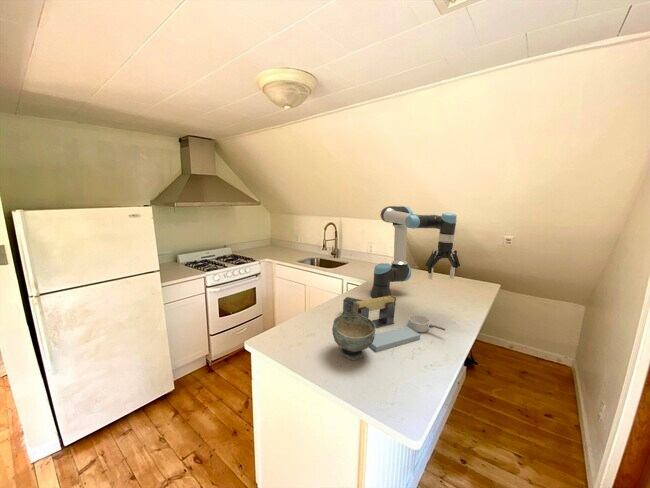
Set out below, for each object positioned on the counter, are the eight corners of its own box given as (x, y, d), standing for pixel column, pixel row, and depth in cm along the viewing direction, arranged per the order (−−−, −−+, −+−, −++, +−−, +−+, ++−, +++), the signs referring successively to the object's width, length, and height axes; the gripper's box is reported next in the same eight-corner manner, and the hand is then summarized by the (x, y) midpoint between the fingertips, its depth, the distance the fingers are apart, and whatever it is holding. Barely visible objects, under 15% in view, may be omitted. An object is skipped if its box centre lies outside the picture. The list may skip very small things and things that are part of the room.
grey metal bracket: (351, 326, 149) (353, 305, 147) (386, 318, 160) (387, 298, 158) (359, 332, 143) (360, 310, 141) (394, 323, 154) (396, 303, 152)
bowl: (343, 372, 111) (345, 338, 108) (324, 347, 128) (325, 317, 125) (383, 361, 119) (385, 330, 116) (360, 339, 136) (362, 311, 133)
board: (363, 341, 135) (363, 336, 134) (406, 330, 147) (406, 326, 147) (376, 352, 126) (376, 347, 125) (420, 339, 138) (420, 334, 138)
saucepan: (439, 343, 136) (440, 332, 135) (403, 328, 150) (404, 318, 149) (448, 335, 144) (449, 325, 143) (413, 321, 158) (414, 312, 157)
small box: (362, 316, 163) (363, 299, 161) (359, 320, 157) (360, 303, 155) (346, 312, 167) (346, 296, 165) (342, 316, 161) (343, 299, 159)
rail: (352, 310, 146) (353, 301, 145) (390, 303, 158) (391, 295, 157) (357, 313, 142) (357, 304, 141) (395, 306, 154) (396, 297, 153)
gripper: (429, 242, 142) (424, 281, 147) (470, 242, 148) (464, 279, 152) (421, 240, 150) (417, 276, 154) (461, 240, 155) (456, 275, 159)
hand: (441, 278), depth 153 cm, fingers open, 13 cm apart
